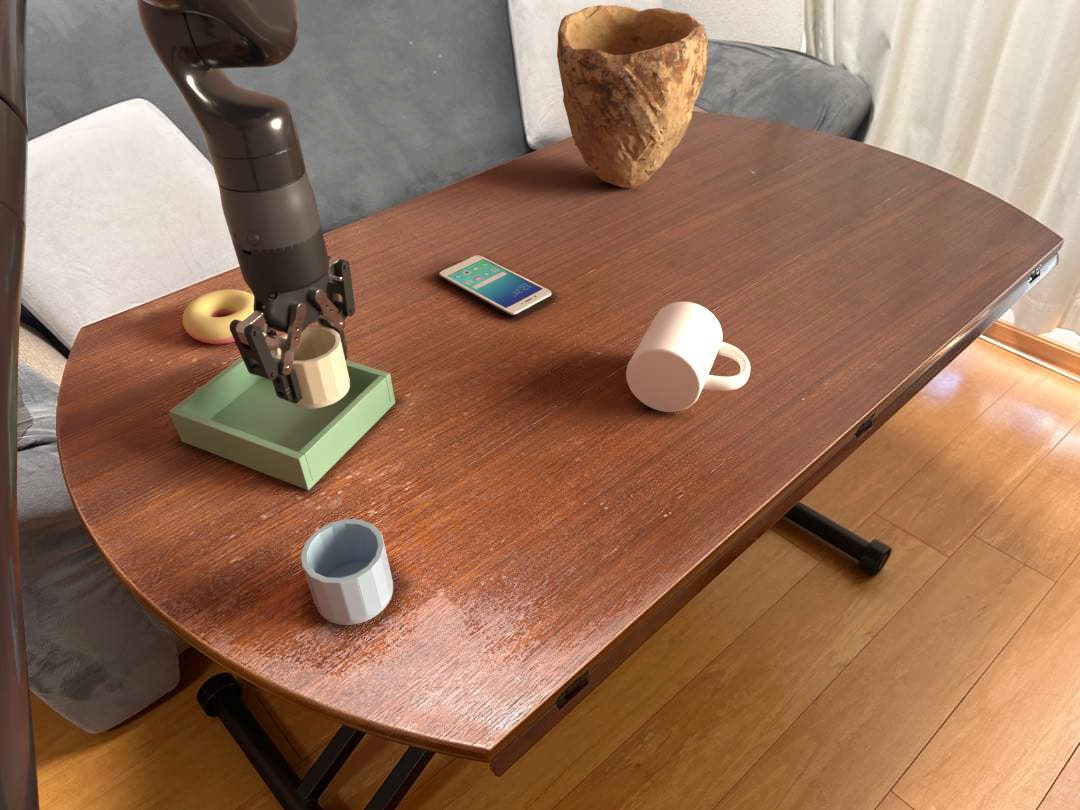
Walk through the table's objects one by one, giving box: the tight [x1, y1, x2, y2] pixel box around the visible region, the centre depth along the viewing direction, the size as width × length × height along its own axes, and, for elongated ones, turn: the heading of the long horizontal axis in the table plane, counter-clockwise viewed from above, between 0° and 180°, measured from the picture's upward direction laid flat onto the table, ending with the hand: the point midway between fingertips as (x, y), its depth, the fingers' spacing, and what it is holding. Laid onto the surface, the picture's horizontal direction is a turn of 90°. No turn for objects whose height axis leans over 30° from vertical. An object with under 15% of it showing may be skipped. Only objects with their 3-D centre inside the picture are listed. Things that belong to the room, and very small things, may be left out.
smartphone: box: [439, 254, 552, 319], centre depth 100 cm, size 7×1×15 cm
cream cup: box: [277, 324, 350, 409], centre depth 75 cm, size 6×6×6 cm
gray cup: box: [300, 518, 394, 626], centre depth 61 cm, size 6×6×6 cm
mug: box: [625, 301, 751, 413], centre depth 81 cm, size 12×10×8 cm
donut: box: [182, 289, 254, 345], centre depth 94 cm, size 10×5×9 cm
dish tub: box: [168, 356, 396, 491], centre depth 79 cm, size 15×17×4 cm
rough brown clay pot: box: [556, 4, 709, 189], centre depth 119 cm, size 22×22×25 cm
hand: (315, 378), depth 76 cm, fingers closed on cream cup, 6 cm apart
